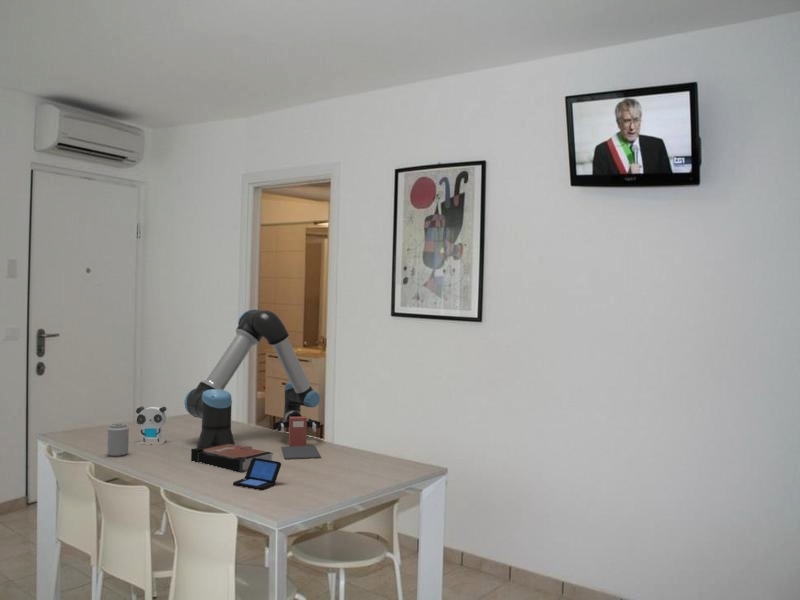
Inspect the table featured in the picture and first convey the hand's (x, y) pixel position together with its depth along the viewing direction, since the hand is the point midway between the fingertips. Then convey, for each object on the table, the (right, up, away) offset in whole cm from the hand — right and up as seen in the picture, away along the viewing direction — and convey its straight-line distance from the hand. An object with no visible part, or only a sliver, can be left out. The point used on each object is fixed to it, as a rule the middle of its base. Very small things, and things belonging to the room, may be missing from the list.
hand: (299, 428), depth 287 cm
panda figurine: (-63, -6, -1) cm, 63 cm away
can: (-67, -6, -24) cm, 71 cm away
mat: (+3, -7, -14) cm, 16 cm away
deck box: (-1, -7, -1) cm, 7 cm away
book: (-20, -7, -32) cm, 38 cm away
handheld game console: (-5, -7, -60) cm, 61 cm away
